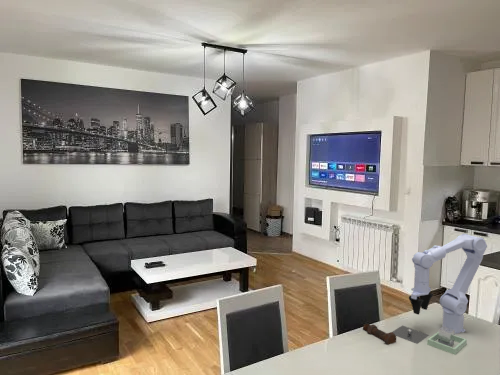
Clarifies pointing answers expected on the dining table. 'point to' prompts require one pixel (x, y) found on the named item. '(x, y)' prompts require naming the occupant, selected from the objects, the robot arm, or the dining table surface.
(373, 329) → the bolt
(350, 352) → the dining table surface
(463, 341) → the parts tray
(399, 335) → the stud plate
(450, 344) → the grey metal block
